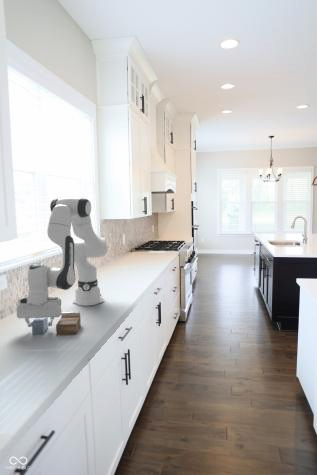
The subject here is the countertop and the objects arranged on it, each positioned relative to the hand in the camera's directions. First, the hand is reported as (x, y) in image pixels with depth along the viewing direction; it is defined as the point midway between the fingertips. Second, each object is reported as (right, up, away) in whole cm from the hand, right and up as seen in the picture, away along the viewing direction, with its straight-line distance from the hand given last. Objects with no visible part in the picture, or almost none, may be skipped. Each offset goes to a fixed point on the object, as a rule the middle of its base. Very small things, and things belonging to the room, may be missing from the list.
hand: (40, 326), depth 159 cm
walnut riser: (+13, -2, +1) cm, 14 cm away
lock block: (0, -3, 0) cm, 3 cm away
